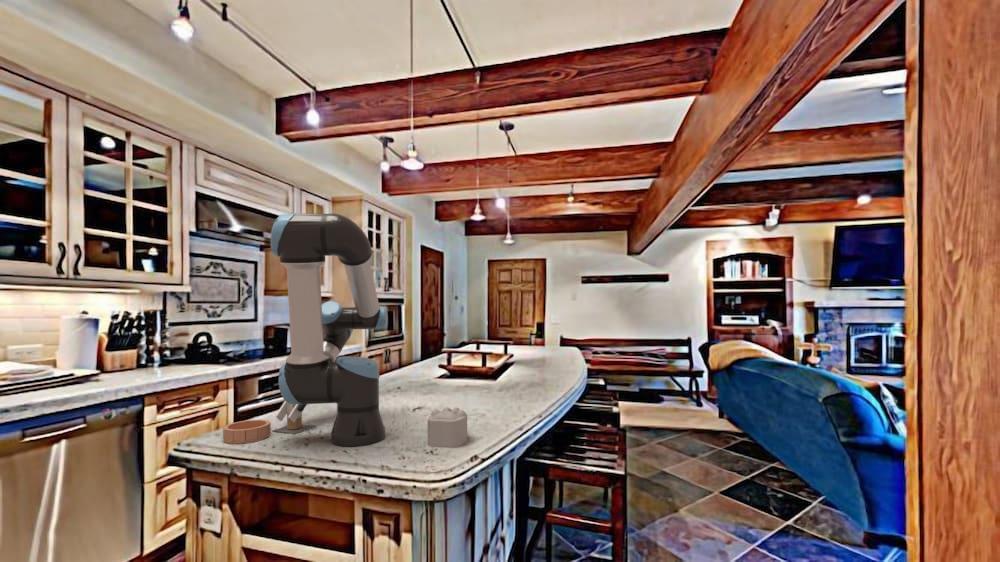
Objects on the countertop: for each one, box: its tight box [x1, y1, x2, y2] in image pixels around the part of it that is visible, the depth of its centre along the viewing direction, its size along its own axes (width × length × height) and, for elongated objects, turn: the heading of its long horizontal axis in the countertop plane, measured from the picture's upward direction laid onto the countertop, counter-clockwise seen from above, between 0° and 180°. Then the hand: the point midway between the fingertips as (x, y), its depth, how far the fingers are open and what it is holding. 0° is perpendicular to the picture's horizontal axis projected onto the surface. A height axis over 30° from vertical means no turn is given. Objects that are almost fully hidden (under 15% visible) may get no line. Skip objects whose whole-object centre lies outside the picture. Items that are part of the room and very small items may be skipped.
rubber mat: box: [271, 423, 316, 435], centre depth 148 cm, size 9×9×1 cm
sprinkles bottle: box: [286, 403, 303, 430], centre depth 148 cm, size 5×5×14 cm
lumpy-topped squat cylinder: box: [427, 406, 468, 449], centre depth 134 cm, size 10×13×9 cm
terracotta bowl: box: [222, 419, 272, 445], centre depth 139 cm, size 12×12×4 cm
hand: (284, 419), depth 145 cm, fingers closed on sprinkles bottle, 4 cm apart
